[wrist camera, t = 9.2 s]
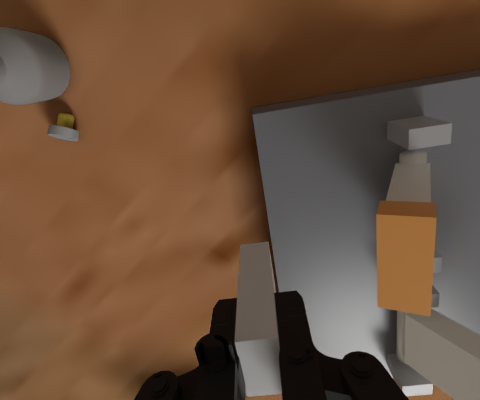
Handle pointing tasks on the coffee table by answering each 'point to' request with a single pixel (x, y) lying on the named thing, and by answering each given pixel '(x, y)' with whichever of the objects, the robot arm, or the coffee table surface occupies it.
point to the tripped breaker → (407, 237)
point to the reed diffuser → (34, 74)
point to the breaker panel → (371, 205)
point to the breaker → (441, 352)
